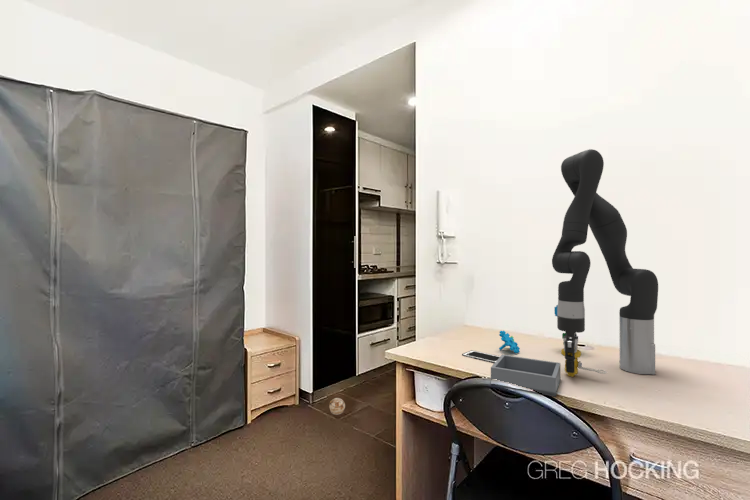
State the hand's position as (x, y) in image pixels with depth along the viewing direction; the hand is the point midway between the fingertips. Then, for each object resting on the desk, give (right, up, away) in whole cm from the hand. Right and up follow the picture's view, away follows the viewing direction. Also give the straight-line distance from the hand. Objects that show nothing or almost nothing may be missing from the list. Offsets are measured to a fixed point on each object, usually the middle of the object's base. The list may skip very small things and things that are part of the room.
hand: (570, 369), depth 113 cm
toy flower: (+13, -2, +25) cm, 28 cm away
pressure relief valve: (+3, -2, -2) cm, 4 cm away
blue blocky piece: (-7, -3, +26) cm, 27 cm away
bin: (-16, -2, -5) cm, 17 cm away
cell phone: (-21, -3, +19) cm, 29 cm away
